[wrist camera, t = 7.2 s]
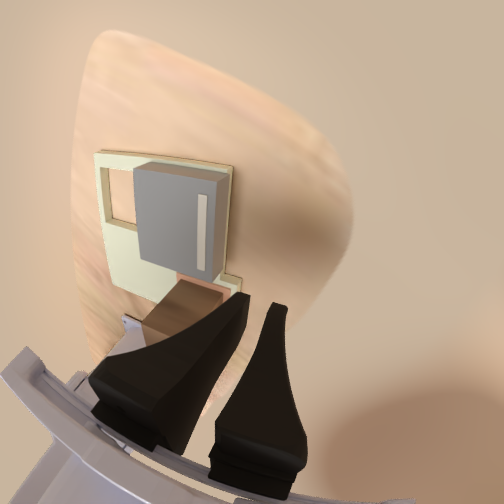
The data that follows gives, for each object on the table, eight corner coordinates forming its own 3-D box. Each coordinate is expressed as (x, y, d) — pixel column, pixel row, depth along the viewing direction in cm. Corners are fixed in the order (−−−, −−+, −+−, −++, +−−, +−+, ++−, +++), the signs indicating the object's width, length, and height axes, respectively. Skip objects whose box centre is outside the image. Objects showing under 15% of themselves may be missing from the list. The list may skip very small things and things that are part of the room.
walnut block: (221, 326, 25) (191, 375, 20) (182, 311, 26) (148, 355, 21) (223, 293, 23) (188, 344, 18) (180, 278, 23) (140, 323, 18)
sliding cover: (223, 268, 22) (211, 283, 20) (154, 247, 23) (139, 259, 21) (230, 174, 18) (215, 182, 16) (150, 161, 19) (132, 168, 17)
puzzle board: (236, 324, 26) (231, 333, 25) (118, 279, 29) (111, 285, 28) (253, 170, 18) (247, 174, 17) (101, 150, 21) (92, 153, 20)
